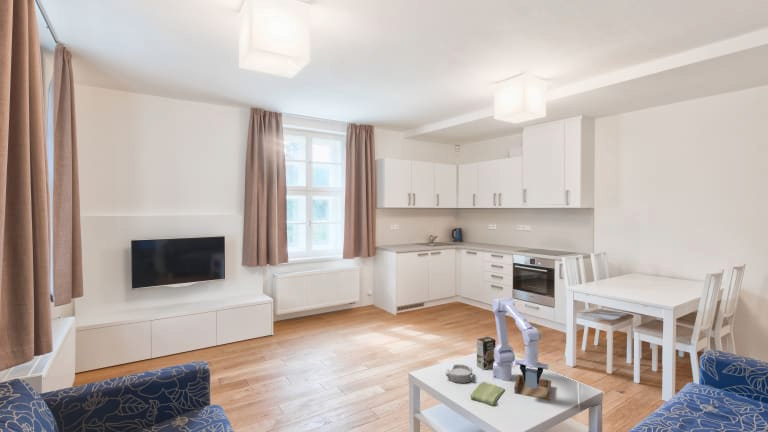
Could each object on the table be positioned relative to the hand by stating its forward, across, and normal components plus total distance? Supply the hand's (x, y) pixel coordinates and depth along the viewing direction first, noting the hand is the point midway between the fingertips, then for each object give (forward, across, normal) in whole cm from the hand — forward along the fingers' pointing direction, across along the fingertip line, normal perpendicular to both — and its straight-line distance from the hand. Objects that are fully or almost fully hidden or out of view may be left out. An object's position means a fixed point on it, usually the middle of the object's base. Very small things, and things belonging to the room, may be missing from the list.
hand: (531, 381), depth 179 cm
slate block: (+2, 0, 0) cm, 2 cm away
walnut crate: (+10, 0, +9) cm, 13 cm away
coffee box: (+10, -27, +29) cm, 41 cm away
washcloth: (+10, -20, -3) cm, 23 cm away
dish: (+10, -37, +10) cm, 40 cm away
